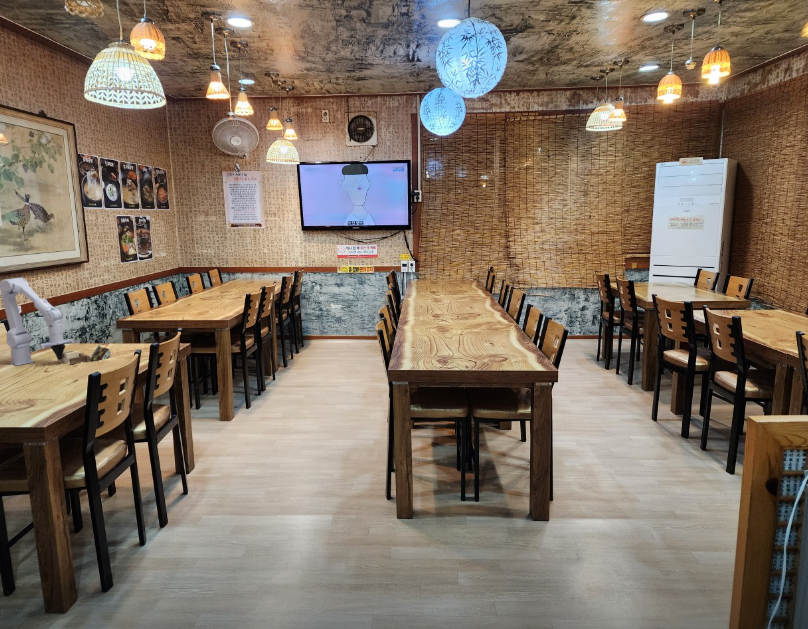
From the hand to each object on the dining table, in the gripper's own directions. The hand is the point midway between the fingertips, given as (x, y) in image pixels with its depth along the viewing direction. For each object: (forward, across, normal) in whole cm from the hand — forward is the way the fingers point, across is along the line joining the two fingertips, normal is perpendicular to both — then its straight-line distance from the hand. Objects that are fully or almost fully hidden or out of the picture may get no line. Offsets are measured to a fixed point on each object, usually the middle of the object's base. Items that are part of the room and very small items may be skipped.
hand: (59, 359), depth 264 cm
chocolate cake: (+3, +17, -8) cm, 19 cm away
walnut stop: (+2, +6, 0) cm, 7 cm away
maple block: (+2, +4, +1) cm, 5 cm away
